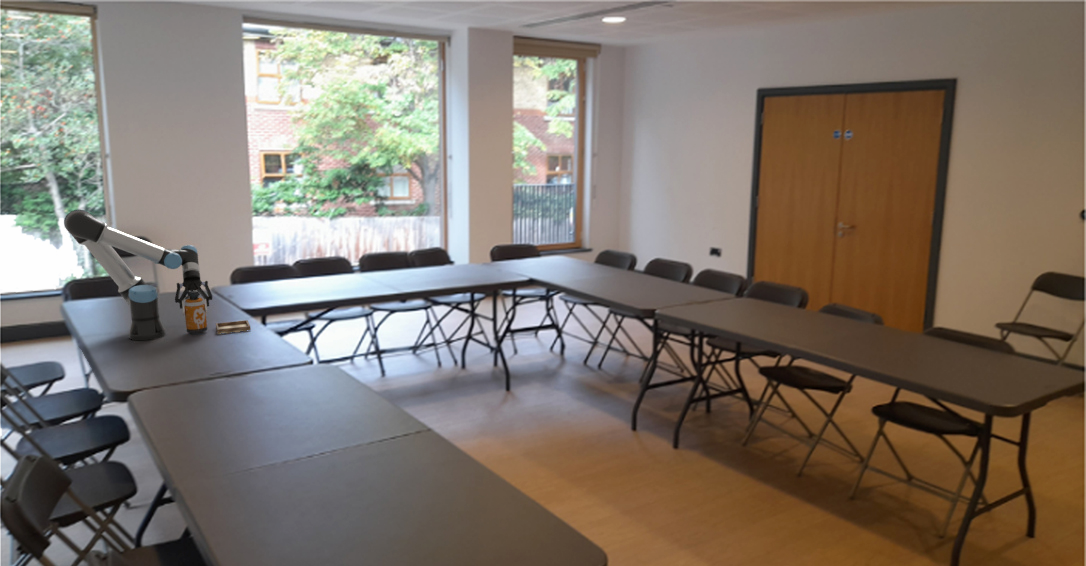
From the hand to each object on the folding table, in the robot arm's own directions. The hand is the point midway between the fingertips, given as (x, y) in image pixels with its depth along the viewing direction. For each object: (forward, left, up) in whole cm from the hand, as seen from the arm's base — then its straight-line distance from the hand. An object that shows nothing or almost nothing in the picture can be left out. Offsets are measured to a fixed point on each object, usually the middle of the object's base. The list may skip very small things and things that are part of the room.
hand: (195, 312), depth 358 cm
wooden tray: (+16, +2, -10) cm, 19 cm away
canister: (0, +3, -10) cm, 11 cm away
